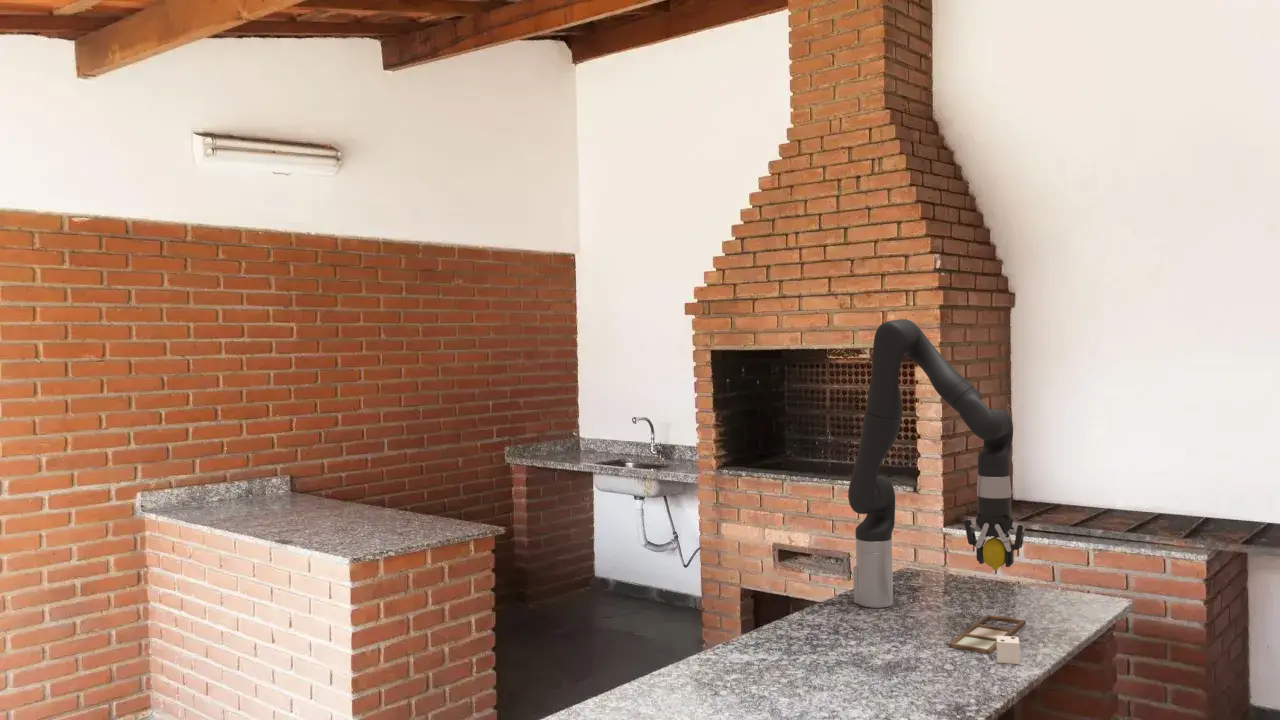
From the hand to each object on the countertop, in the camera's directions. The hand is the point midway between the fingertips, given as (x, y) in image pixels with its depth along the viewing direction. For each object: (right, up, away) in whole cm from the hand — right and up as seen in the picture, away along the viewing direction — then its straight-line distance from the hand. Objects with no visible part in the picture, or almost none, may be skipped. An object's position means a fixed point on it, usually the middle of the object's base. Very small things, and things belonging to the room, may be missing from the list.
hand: (995, 564), depth 235 cm
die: (-5, -16, -21) cm, 27 cm away
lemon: (0, -1, 0) cm, 2 cm away
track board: (-3, -16, -4) cm, 16 cm away
